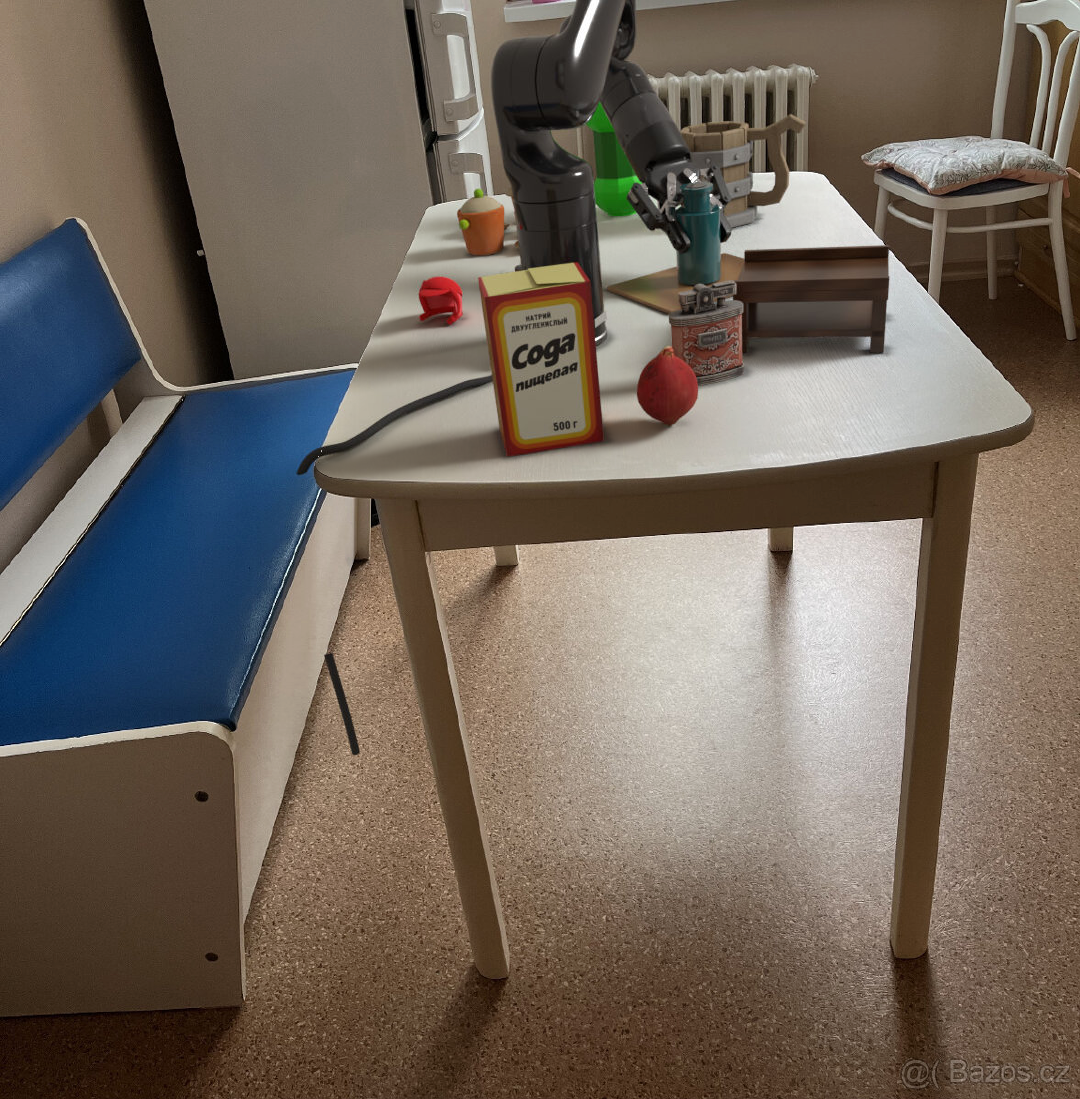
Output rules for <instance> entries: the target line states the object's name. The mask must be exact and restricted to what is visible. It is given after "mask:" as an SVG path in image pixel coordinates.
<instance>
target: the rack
mask: <svg viewBox="0 0 1080 1099" xmlns="http://www.w3.org/2000/svg"><path fill="white" fill-rule="evenodd" d="M889 255H890V245H889V244H884V245H883V244H881V245H880V244H879V245H854V246H852V245H851V246H824V247H823V246H822V247H793V248H792V247H791V248H769V249H768V248H765V249H764V248H761V249H744V252H743V258H744V261H745V262H744V265H743V267H742V270H741V273H740V275H739V278H738V280H733V281H734V283H736V294H734V295H733V296H732V300H737V301H741V302H743V312H742V354H748V352H749V349H750V347H749V344H750V343H749V339H784V338H785V339H786V338H787V339H789V338H791V339H792V338H793V339H794V338H796V339H797V338H798V339H799V338H800V339H801V338H805V339H806V338H870V344H869V353H870V354H873V353H874V354H883V353H885V340H886V338H885V337H886V324H887V322H886V321H887V308H888V307H887V306H888V300H889V292H890V274H889V273H890V270H889V269H890V268H889V267H890V266H889V263H890V262H889V260H890V258H889V257H890V256H889Z"/></svg>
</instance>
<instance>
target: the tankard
mask: <svg viewBox="0 0 1080 1099" xmlns="http://www.w3.org/2000/svg"><path fill="white" fill-rule="evenodd" d="M749 126H750V125H749V123H747V122H741V121H736V120H735V121H733V120H731V121H730V120H727V121H711V122H703V123H697V124H692V125H689V126H684V127H683V128H682V129H681V130H679V131H680V133H681V135H682V137H683V139H684V141H685V142H686V144H687V146H688V148H689V151H690V157H691V160H692V162H693V163H694V164H695V165H696V166H698V167H699V169H706V168H710V166H711V165H712V164H717V165H718V166H719V168H720V171H721V173H722V176H723V178H724V181H725V184H726V186H727V189H728V192H729V194H730V197H731V201H730V202H729V203H728V204H727V206H726V207H725V209H724V211H723V213H724V215H725V216H726V218H727V220H728V222H729V224H730V226H731V229H734V228H738V227H742V226H747V225H750V224H752V223H754V221H755V219H756V217H757V215H758V207H766V206H767V207H768V206H771V205H776V204H780V203H781V201H782V199H783V197H784V195H785V194H786V192H787V190H788V188H789V185H790V169H789V166H788V164H787V160H786V158H785V155H784V150H783V142H782V135H783V134H785V133H786V132H788V131H789V130H791V131H793V132H795V133H796V134H801V133H802V131H803V129H805V126H806V121H804V120H803V119H801V118H798V117H796V116H795V115H793V114H792V113H790V114H788V115H787V116H785V117H783V118H781V119H780V120H778V121H776V122H774V123H772V124H770V125H768V126H766V127H749ZM762 140H766V144H767V145H766V146H767V155H768V160H769V162H770V165H771V167H772V170H773V173H774V185H773V187H772V189H771V190H767V191H756V190H752V189H753V187H754V173H753V172H752V171H750V160H751V158H752V156H754V145H753V144H754V141H762ZM700 181H701V182H703V181H702V180H700ZM683 206H684V205H679V206H678V208H680V207H683Z"/></svg>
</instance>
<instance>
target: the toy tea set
mask: <svg viewBox="0 0 1080 1099" xmlns="http://www.w3.org/2000/svg"><path fill="white" fill-rule="evenodd" d="M505 196H506V197H510V198H511V202H512V206H513V207H514V202H513V195H512V188H511V186H510V187H509V188H508V189H507V190H506V191H505ZM513 214H514V215H515V211H513ZM456 216H457V220H458V227H459V228H460V230H461V233H462V235H463V236H462V237H463V240H464V244H465V248H466V250H467V253H468V254H469V255H472V256H488V255H489V256H490V255H493V254H498V253H499V252H501V251H502V250H503V249H504V246H505V242H504V241H505V231H506V230H507V229H508V228H509V227H510V226H511V225H510V223H506V222H505V207H504V205H503V204H502V203H500V202H499V201H498V200H497V199H495V198H493V197H492V196H489V195H484V191H483V190H482V189H481V188H476V189H474V191H473V196H472V197H470V198H468V199H467V200H466V201H465V202H464V203H463V204H462V206H461V207H460V208H459V209H458V210H457V211H456ZM514 247H515V249H516V250H519V244H518V240H517V241H515V243H514Z"/></svg>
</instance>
